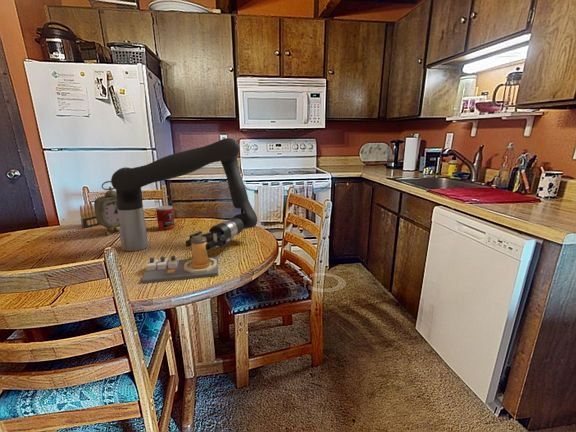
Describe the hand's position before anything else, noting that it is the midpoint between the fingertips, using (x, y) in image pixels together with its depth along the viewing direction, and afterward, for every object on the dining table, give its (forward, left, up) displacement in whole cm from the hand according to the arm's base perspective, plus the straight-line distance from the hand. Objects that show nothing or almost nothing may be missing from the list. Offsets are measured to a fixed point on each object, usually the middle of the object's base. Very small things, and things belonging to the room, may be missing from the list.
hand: (196, 245), depth 102 cm
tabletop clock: (-42, +53, -9) cm, 68 cm away
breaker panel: (-5, +1, -9) cm, 10 cm away
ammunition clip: (-57, +66, -9) cm, 88 cm away
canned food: (-19, +53, -9) cm, 57 cm away
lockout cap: (+1, +1, -8) cm, 8 cm away
